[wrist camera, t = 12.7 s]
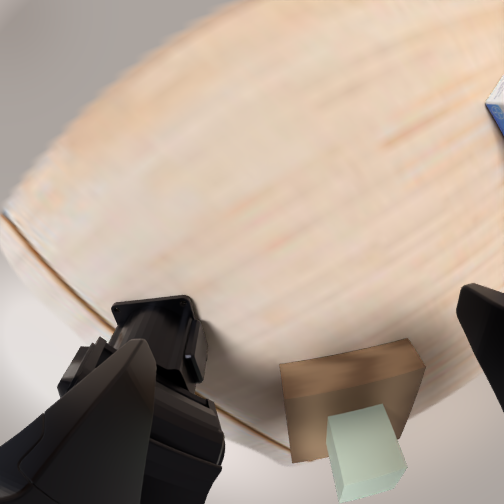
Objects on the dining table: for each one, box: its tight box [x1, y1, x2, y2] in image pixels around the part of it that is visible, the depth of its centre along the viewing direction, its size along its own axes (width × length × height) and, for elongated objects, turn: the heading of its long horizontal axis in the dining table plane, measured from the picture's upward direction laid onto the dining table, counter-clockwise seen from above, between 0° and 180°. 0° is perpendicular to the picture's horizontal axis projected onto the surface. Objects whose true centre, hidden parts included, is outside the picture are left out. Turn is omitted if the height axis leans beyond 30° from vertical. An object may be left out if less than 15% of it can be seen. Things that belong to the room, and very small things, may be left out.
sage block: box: [326, 404, 407, 503], centre depth 20 cm, size 5×5×7 cm
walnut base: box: [280, 338, 426, 463], centre depth 25 cm, size 12×12×4 cm
